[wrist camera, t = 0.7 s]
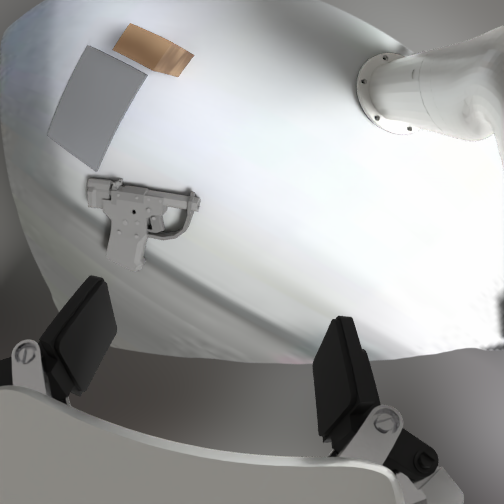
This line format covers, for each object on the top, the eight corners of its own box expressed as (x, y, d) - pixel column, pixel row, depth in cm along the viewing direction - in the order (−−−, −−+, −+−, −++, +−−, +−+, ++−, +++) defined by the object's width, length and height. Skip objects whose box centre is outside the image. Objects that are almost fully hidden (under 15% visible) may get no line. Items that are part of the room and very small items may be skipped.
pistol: (92, 262, 46) (84, 179, 38) (99, 254, 48) (94, 174, 40) (189, 285, 46) (197, 195, 38) (194, 275, 49) (202, 189, 41)
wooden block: (158, 36, 29) (130, 23, 21) (194, 55, 30) (172, 42, 22) (143, 58, 30) (112, 49, 22) (178, 77, 32) (152, 70, 24)
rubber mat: (89, 45, 28) (87, 45, 28) (147, 75, 32) (146, 74, 31) (49, 135, 36) (47, 135, 36) (97, 170, 39) (95, 171, 39)
